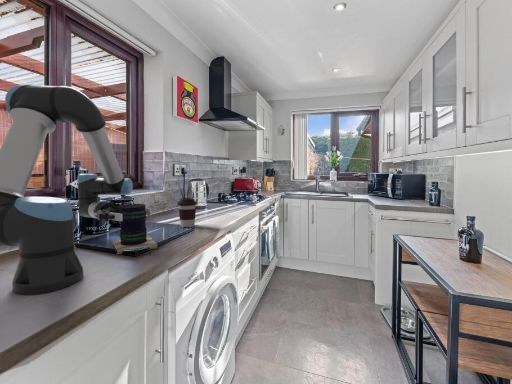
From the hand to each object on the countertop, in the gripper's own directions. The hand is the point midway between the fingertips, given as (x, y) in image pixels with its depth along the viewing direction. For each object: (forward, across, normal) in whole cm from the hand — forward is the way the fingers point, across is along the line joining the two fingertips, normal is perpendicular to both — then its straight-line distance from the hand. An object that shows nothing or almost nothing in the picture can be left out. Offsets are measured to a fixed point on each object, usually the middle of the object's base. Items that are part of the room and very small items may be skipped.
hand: (137, 214), depth 102 cm
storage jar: (-2, 0, -12) cm, 12 cm away
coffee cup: (-6, -37, -13) cm, 40 cm away
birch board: (-2, 0, -13) cm, 13 cm away
